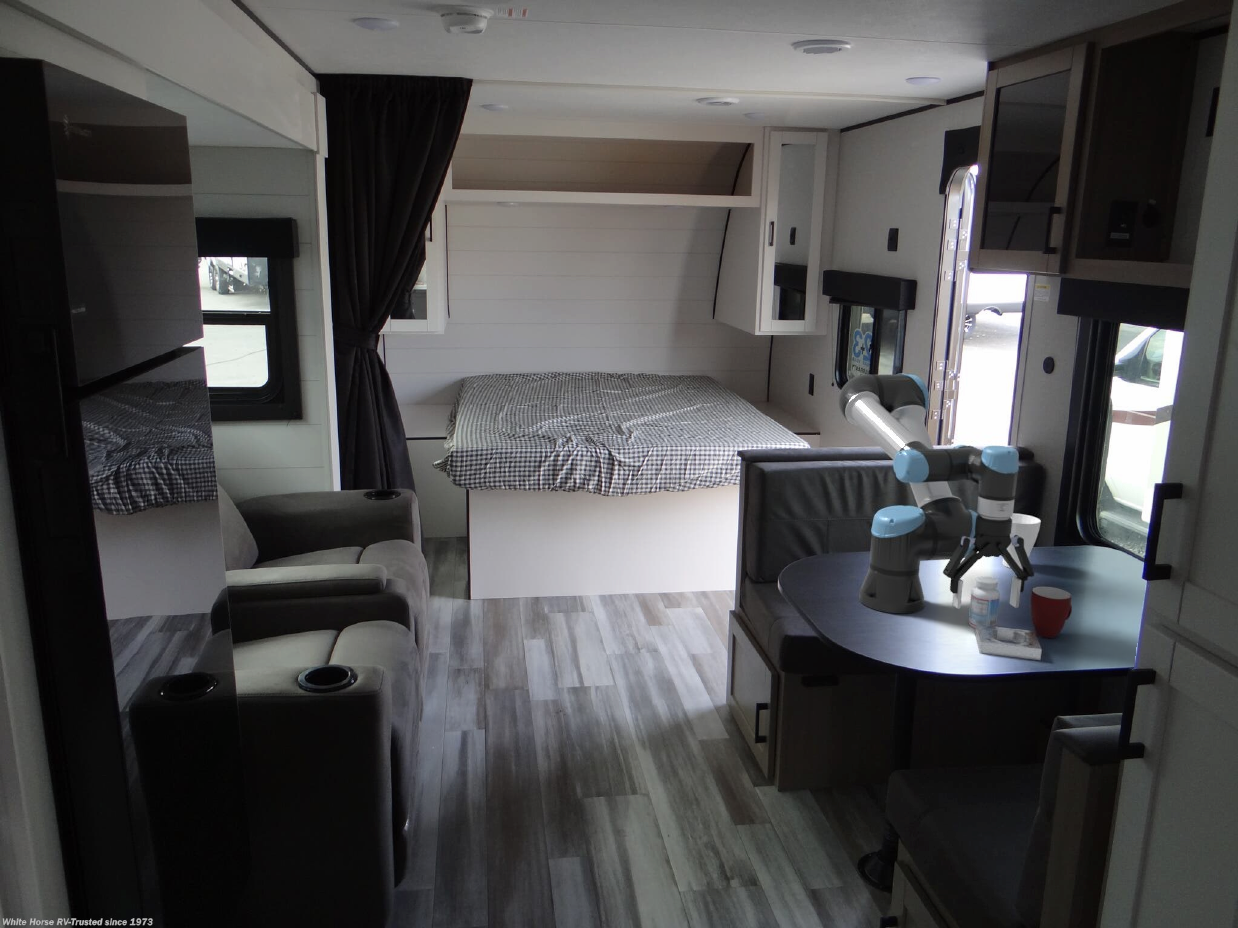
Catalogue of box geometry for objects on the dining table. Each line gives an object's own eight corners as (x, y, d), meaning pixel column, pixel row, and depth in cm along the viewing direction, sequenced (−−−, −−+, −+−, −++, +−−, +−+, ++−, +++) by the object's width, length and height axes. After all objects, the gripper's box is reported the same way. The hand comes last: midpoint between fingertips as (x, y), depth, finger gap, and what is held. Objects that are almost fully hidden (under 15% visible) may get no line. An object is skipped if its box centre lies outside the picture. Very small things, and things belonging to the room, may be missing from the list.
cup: (1037, 564, 256) (1043, 517, 253) (1031, 574, 247) (1037, 526, 244) (997, 557, 261) (1003, 511, 258) (990, 567, 252) (995, 519, 249)
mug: (1047, 623, 214) (1052, 582, 212) (1080, 635, 207) (1086, 593, 205) (1019, 631, 208) (1024, 590, 206) (1051, 644, 202) (1057, 601, 200)
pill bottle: (989, 621, 214) (994, 575, 212) (1000, 631, 209) (1006, 584, 206) (963, 620, 214) (968, 575, 212) (974, 631, 208) (979, 584, 206)
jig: (979, 652, 197) (980, 641, 196) (975, 634, 206) (976, 624, 206) (1040, 660, 194) (1041, 649, 193) (1033, 641, 203) (1034, 631, 203)
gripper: (947, 520, 201) (938, 612, 205) (1057, 520, 203) (1046, 611, 207) (933, 511, 208) (925, 600, 213) (1039, 511, 210) (1029, 599, 215)
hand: (985, 606), depth 210 cm, fingers open, 13 cm apart
